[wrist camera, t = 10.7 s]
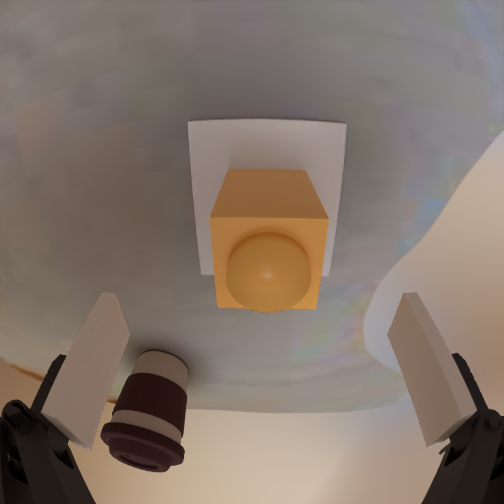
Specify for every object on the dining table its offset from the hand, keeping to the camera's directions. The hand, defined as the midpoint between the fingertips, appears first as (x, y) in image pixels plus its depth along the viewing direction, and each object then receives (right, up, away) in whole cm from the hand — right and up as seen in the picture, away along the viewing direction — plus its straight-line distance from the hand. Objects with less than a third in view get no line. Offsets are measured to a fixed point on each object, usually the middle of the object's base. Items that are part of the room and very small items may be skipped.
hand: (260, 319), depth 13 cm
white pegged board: (+1, +7, +12) cm, 14 cm away
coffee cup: (-13, -13, +25) cm, 31 cm away
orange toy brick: (+1, +7, +11) cm, 13 cm away
